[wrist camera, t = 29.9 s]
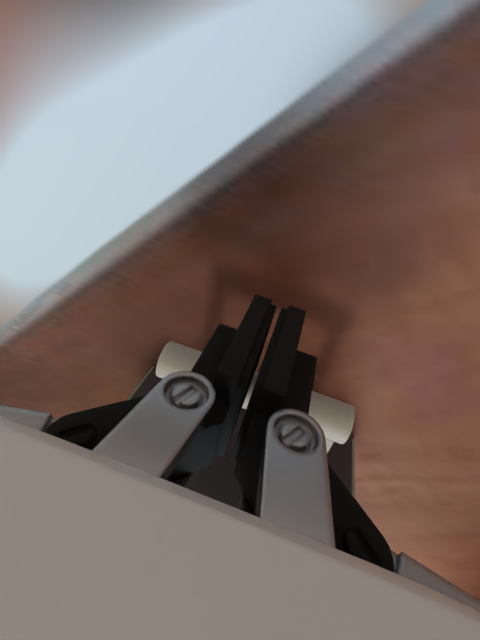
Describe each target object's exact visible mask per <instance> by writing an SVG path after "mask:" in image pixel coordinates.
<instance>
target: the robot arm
mask: <svg viewBox="0 0 480 640" xmlns="http://www.w3.org/2000/svg"><path fill="white" fill-rule="evenodd" d="M271 301H272V299H269V298H266V297H263V296H260V295H257V294H256V295H255V297H254V299H253V301H252V303H251V305H250V306H249V308H248V310H247V312H246V314H245V316H244V318H243V320H242V322H241V324H240V326H239V328H238V330H237V329H234V328H231V327H228V326H225V325H223V324H219V326H218V327H217V329H216V330H215V332H214V334H213V335H212V337H211V339H210V340H209V342H208V344H207V345H206V347H205V348H204V350H203V352H202V353H201V355H200V357H199V358H198V360H197V362H196V363H195V365H194V367H193V368H192V370H191V372H190V371H178V372H174V373H171V374H168V375H167V376H166V377H164V378H163V379H162V380H161V381H160V382H159V383H158V384H157V385H156V386H155V387H154V388H153V389H152V390H151V391H150V392H149V393H148V394H147V395H146V396H143V397H139V398H135V399H131V400H126V401H122V402H118V403H114V404H110V405H106V406H101V407H97V408H93V409H89V410H85V411H80V412H76V413H72V414H69V415H66V416H64V417H61V418H59V419H55V418H52V416H51V413H45V412H39V411H33V410H26V409H20V408H14V407H8V406H2V405H0V640H480V601H479V600H477V599H475V598H474V597H472V596H471V595H469V594H468V593H466V592H464V591H463V590H461V589H460V588H458V587H457V586H455V585H453V584H452V583H450V582H449V581H447V580H446V579H444V578H442V577H441V576H439V575H438V574H436V573H435V572H433V571H431V570H430V569H428V568H427V567H425V566H424V565H422V564H420V563H419V562H417V561H416V560H414V559H413V558H411V557H409V556H408V555H406V554H405V553H403V552H401V553H400V554H399V555H397V554H396V553H394V552H393V551H391V550H390V548H389V545H388V544H387V542H386V540H385V539H384V537H383V536H382V534H381V533H380V532H379V530H378V529H377V528H376V526H375V525H374V524H373V522H372V521H371V520H370V518H369V517H368V516H367V514H366V513H365V512H364V510H363V509H362V508H361V506H360V505H359V504H358V502H357V501H356V500H355V498H354V497H353V496H352V494H351V493H350V492H349V490H348V489H347V488H346V486H345V485H344V484H343V483H342V481H341V480H340V479H339V477H338V476H337V475H336V473H335V472H334V471H333V469H332V468H331V467H330V465H329V464H328V460H327V449H326V439H325V435H324V431H323V430H322V428H321V426H320V425H319V423H318V422H317V421H316V420H315V419H314V418H313V417H311V416H309V415H308V414H309V407H310V401H311V394H312V388H313V381H314V374H315V368H316V361H317V358H316V357H315V356H312V355H309V354H306V353H303V352H301V351H298V350H297V347H298V343H299V338H300V334H301V330H302V326H303V321H304V317H305V313H306V311H305V310H302V309H299V308H296V307H293V306H289V309H288V310H287V309H285V308H282V309H281V311H280V314H279V317H278V320H277V323H276V326H275V328H274V331H273V334H272V337H271V340H270V343H269V345H268V348H267V351H266V354H265V357H264V359H263V362H262V365H261V368H260V371H259V374H258V376H257V379H256V382H255V385H254V388H253V391H252V394H251V397H250V400H249V403H248V406H247V409H246V412H245V415H244V418H243V421H242V424H241V427H240V430H239V432H238V435H237V438H236V441H235V444H234V447H233V450H232V453H231V456H230V459H231V460H233V461H236V465H235V468H234V471H233V474H234V476H235V478H236V480H237V482H238V484H239V485H240V487H241V491H240V494H239V500H238V507H237V508H234V507H232V506H229V505H227V504H224V503H222V502H219V501H217V500H214V499H212V498H209V497H207V496H204V495H202V494H199V493H197V492H194V491H192V490H189V489H187V488H188V487H189V485H190V483H191V482H192V480H193V479H194V476H195V474H196V471H197V470H199V469H202V468H205V467H207V466H210V465H213V463H214V461H215V458H216V456H217V454H218V455H220V456H223V457H224V455H225V452H226V450H227V447H228V444H229V442H230V439H231V436H232V433H233V431H234V428H235V425H236V423H237V420H238V417H239V414H240V412H241V409H242V406H243V404H244V401H245V398H246V396H247V393H248V390H249V387H250V385H251V382H252V379H253V376H254V374H255V371H256V368H257V365H258V362H259V359H260V356H261V353H262V350H263V346H264V343H265V340H266V337H267V334H268V331H269V328H270V325H271V322H272V319H273V316H274V313H275V310H276V307H277V306H276V305H273V304H271Z"/></svg>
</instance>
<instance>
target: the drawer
mask: <svg viewBox="0 0 480 640" xmlns="http://www.w3.org/2000/svg"><path fill="white" fill-rule="evenodd" d="M201 353H202V352H201V351H198V350H196V349H193V348H190V347H187V346H184V345H182V344H179V343H176V342H173V341H169V342H168V343H167V344H166V345H165V347H164V348H163V350H162V352H161V354H160V356H159V359H158V362H157V364H156V365H155V366H154V368H153V369H152V370H151V372H150V373H149V374H148V376H147V377H146V378H145V380H144V381H143V382H142V384H141V385H140V386H139V388H138V389H137V390H136V392H135V393H134V395H133V396H132V397H131V399H135V398H139V397H143V396H146V395H147V394H148V393H149V392H150V391H151V390H152V389H153V388H154V387H155V386H156V385H157V384H158V383H159V382H160V381H161V380H162V379H163V378H164V377H166V376H167V375H168V374H171V373H174V372H178V371H190V372H191V370H192V368H193V367H194V365H195V363H196V362H197V360H198V358H199V357H200V355H201ZM258 374H259V372H258V371H255V374H254V376H253V379H252V382H251V385H250V387H249V390H248V393H247V396H246V398H245V401H244V404H243V406H242V409H241V412H240V414H239V417H238V420H237V423H236V425H235V428H234V431H233V433H232V436H231V439H230V442H229V444H228V447H227V450H226V452H225V455H224V457H223V456H220V455H218V454H217V456H216V458H215V461H214V463H213V465H210V466H207V467H205V468H202V469H199V470H197V471H196V474H195V476H194V479H193V480H192V482H191V483H190V485H189V487H188V488H187V489H189V490H192V491H194V492H197V493H199V494H202V495H204V496H207V497H209V498H212V499H214V500H217V501H219V502H222V503H224V504H227V505H229V506H232V507H234V508H237V507H238V500H239V494H240V491H241V487H240V485H239V484H238V482H237V480H236V478H235V476H234V474H233V471H234V468H235V465H236V461H233V460H231V459H230V456H231V453H232V450H233V447H234V444H235V441H236V438H237V435H238V432H239V430H240V427H241V424H242V421H243V418H244V415H245V412H246V409H247V406H248V403H249V400H250V397H251V394H252V391H253V388H254V385H255V382H256V379H257V376H258ZM131 399H130V400H131ZM308 415H309V416H311V417H313V418H314V419H315V420H316V421H317V422H318V423H319V425H320V426H321V428H322V430H323V431H324V435H325V439H326V449H327V460H328V464H329V465H330V467H331V468H332V469H333V471H334V472H335V473H336V475H337V476H338V477H339V479H340V480H341V481H342V483H343V484H344V485H345V486H346V488H347V489H348V490H349V492H350V493H351V494H352V434H350V433H351V431H352V428H353V424H354V420H355V407H354V406H353V405H351V404H348V403H345V402H342V401H339V400H337V399H334V398H331V397H328V396H325V395H323V394H320V393H317V392H314V391H312V394H311V401H310V407H309V414H308Z"/></svg>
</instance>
